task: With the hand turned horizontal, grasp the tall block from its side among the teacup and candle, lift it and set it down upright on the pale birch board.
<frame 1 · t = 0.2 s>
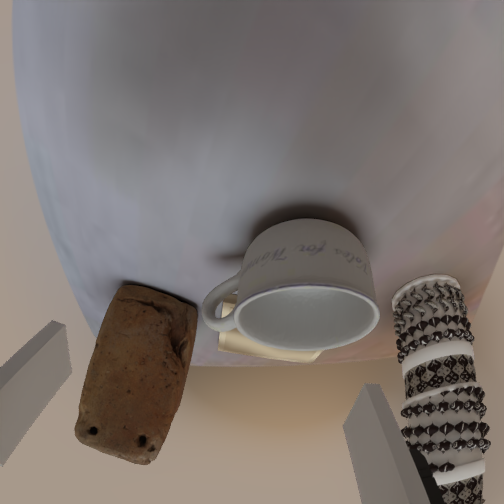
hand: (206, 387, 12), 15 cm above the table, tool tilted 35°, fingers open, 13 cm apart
block: (160, 300, 38), on the table
decorative candle: (425, 295, 31), on the table
teacup: (288, 245, 28), on the table
birch board: (275, 330, 40), on the table
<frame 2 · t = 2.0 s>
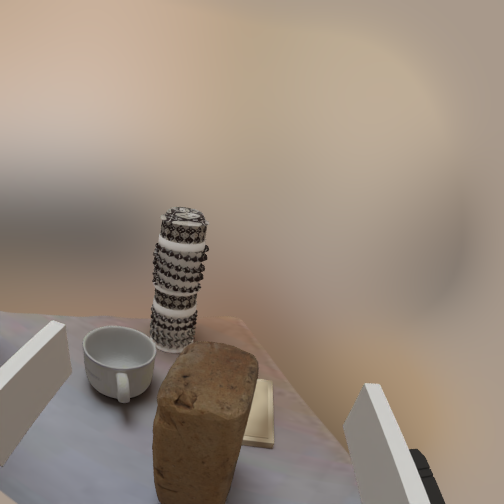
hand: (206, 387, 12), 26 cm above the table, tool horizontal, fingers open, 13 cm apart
block: (196, 485, 28), on the table
decorative candle: (171, 341, 57), on the table
teacup: (120, 392, 41), on the table
birch board: (225, 407, 43), on the table
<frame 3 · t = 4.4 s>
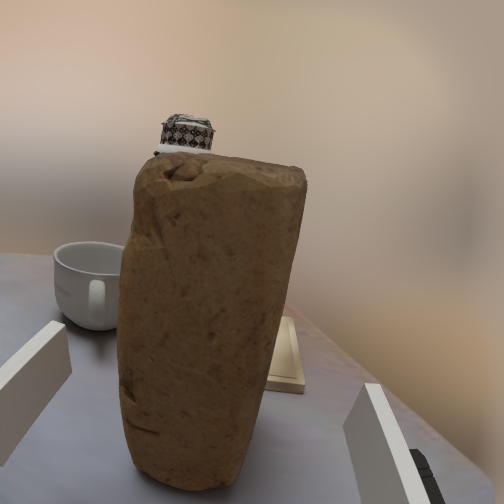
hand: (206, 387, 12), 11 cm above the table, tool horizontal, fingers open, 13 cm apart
block: (195, 444, 20), on the table
decorative candle: (167, 279, 49), on the table
teacup: (97, 325, 32), on the table
birch board: (235, 345, 35), on the table
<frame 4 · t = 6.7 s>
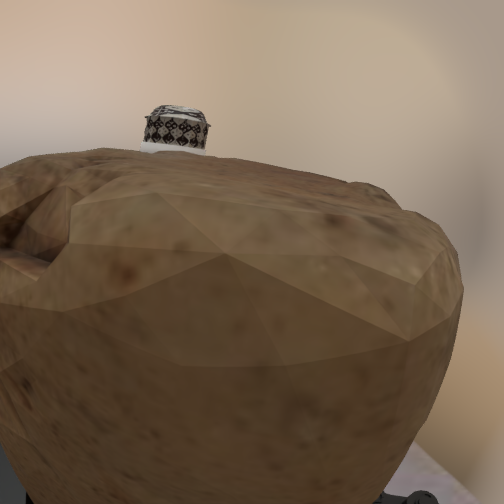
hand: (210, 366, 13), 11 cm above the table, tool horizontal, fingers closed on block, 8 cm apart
decorative candle: (155, 304, 41), on the table
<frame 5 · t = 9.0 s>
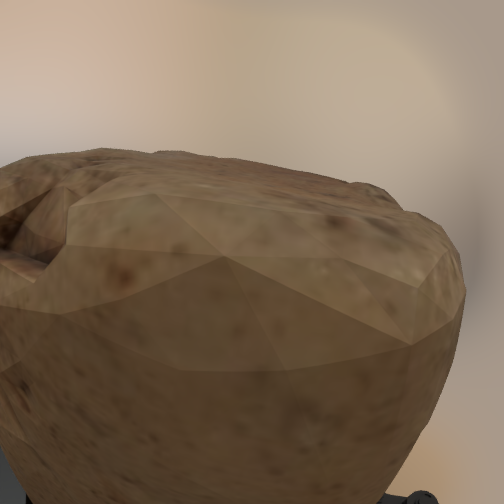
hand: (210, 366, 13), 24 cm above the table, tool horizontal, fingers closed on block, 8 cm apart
when the fingers open (13 cm above the table, at t = 11.7 s): block drops 1 cm, resting on birch board.
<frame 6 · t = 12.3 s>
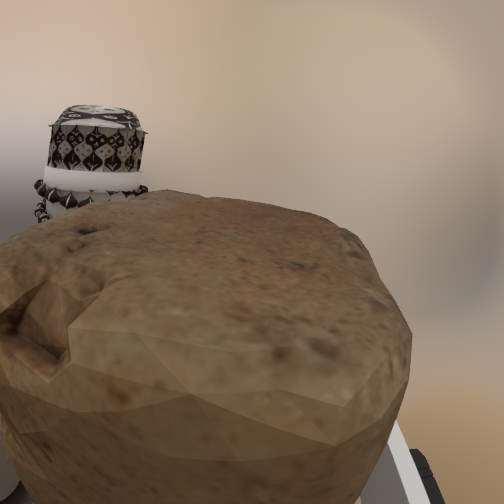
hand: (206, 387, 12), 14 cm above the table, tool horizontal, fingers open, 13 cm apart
decorative candle: (94, 381, 27), on the table
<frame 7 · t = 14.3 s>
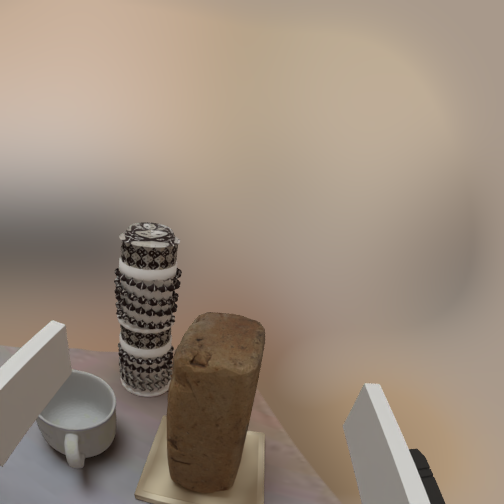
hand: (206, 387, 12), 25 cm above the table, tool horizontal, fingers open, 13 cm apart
block: (207, 464, 31), point 1 cm above the table, touching birch board
decorative candle: (146, 381, 45), on the table
teacup: (80, 446, 29), on the table
birch board: (205, 468, 31), on the table
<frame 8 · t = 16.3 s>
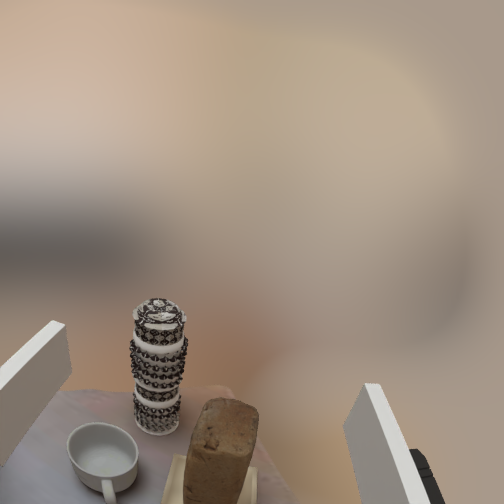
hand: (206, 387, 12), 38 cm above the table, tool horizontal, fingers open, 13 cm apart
block: (211, 494, 36), point 1 cm above the table, touching birch board
decorative candle: (157, 420, 51), on the table
teacup: (108, 481, 34), on the table
birch board: (210, 497, 37), on the table
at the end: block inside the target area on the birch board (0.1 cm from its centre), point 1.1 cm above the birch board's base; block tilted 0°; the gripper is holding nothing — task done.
